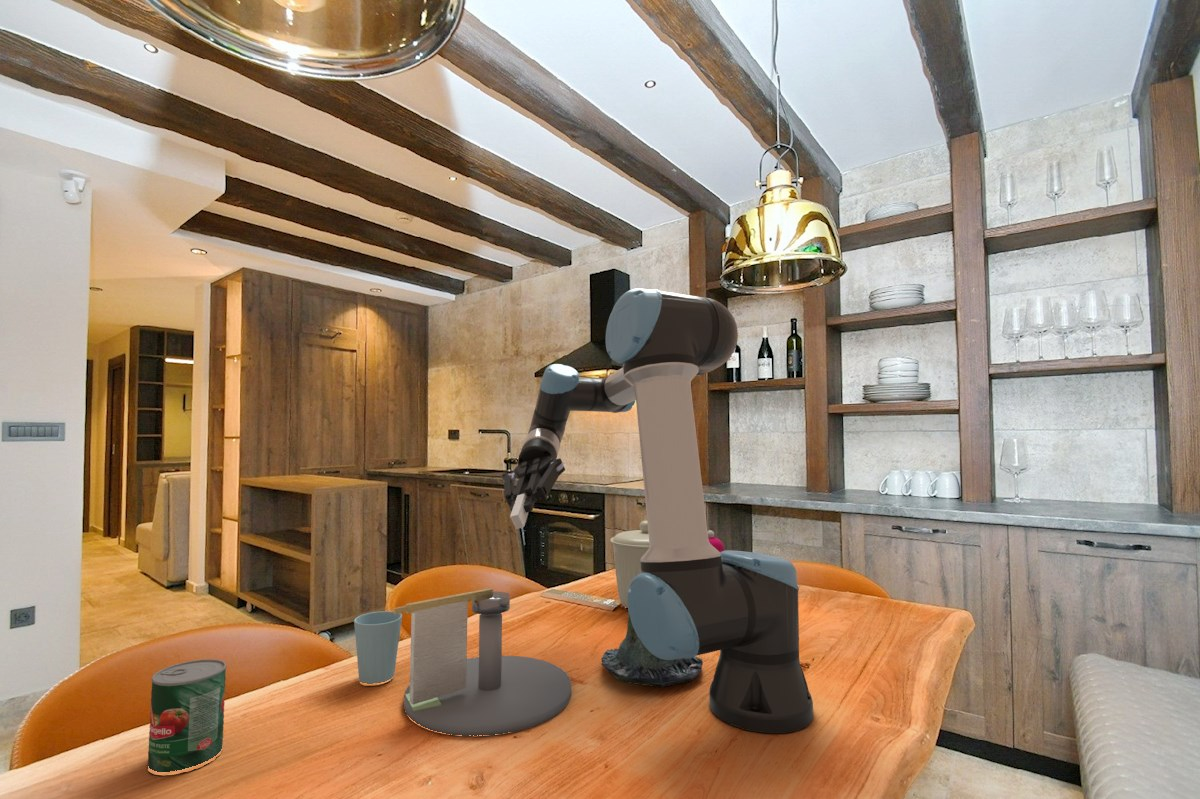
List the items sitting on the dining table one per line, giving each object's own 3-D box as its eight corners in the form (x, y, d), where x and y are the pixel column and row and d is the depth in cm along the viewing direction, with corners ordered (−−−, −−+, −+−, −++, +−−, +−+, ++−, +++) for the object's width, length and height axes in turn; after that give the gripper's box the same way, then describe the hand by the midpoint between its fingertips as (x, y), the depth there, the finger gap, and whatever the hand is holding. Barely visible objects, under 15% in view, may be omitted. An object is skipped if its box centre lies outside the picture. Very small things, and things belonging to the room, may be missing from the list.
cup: (345, 690, 94) (348, 625, 94) (358, 672, 101) (361, 611, 102) (394, 688, 95) (396, 623, 95) (403, 670, 102) (405, 610, 103)
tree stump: (715, 659, 108) (714, 570, 105) (688, 734, 90) (686, 629, 87) (624, 641, 116) (620, 557, 113) (583, 706, 98) (577, 609, 95)
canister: (601, 615, 135) (601, 524, 136) (620, 595, 152) (620, 514, 153) (678, 622, 129) (677, 527, 131) (689, 601, 147) (688, 517, 148)
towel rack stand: (496, 668, 96) (497, 582, 97) (516, 680, 92) (516, 589, 93) (384, 701, 84) (386, 602, 85) (400, 716, 80) (402, 611, 81)
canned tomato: (236, 742, 78) (239, 658, 78) (197, 776, 70) (201, 682, 71) (175, 743, 77) (180, 659, 78) (130, 777, 69) (135, 683, 70)
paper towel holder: (597, 714, 86) (597, 627, 87) (415, 753, 75) (417, 654, 76) (540, 655, 109) (540, 588, 110) (395, 679, 98) (397, 604, 99)
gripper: (574, 460, 119) (560, 530, 98) (517, 476, 122) (491, 547, 100) (562, 429, 117) (544, 494, 95) (503, 446, 119) (473, 513, 98)
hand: (517, 521), depth 98 cm, fingers closed
